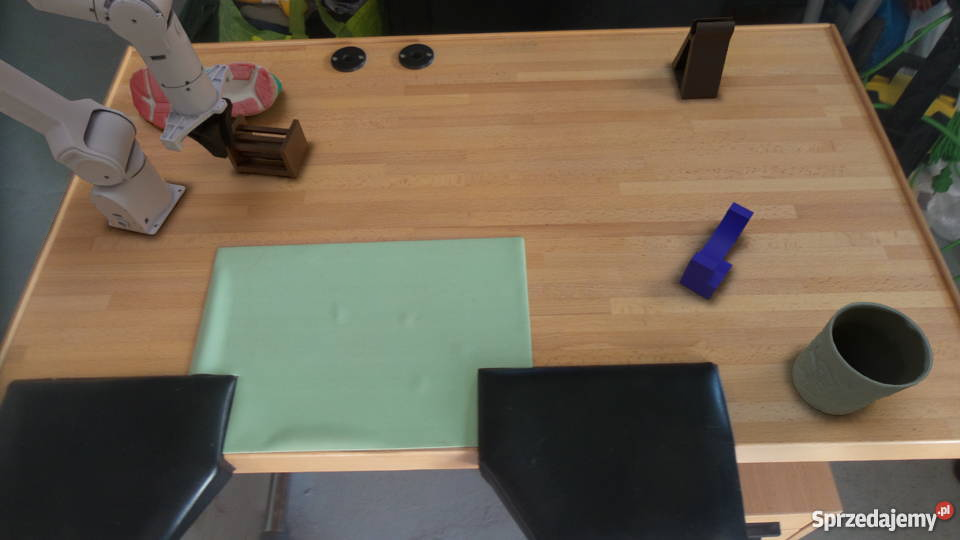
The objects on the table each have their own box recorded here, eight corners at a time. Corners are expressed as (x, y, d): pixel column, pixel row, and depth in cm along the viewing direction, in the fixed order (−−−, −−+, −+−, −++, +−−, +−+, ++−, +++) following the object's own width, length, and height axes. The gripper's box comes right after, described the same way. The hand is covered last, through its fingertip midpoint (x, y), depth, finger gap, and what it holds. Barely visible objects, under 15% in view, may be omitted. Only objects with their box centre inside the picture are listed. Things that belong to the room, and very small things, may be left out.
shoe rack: (295, 178, 91) (283, 151, 86) (236, 172, 92) (221, 145, 87) (309, 146, 94) (298, 119, 89) (252, 141, 95) (238, 113, 90)
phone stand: (671, 65, 103) (690, 3, 93) (704, 64, 103) (727, 2, 93) (681, 99, 98) (702, 38, 88) (716, 98, 98) (741, 37, 88)
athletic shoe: (300, 102, 102) (274, 32, 98) (280, 107, 93) (251, 30, 89) (170, 140, 106) (140, 75, 102) (139, 148, 97) (105, 77, 93)
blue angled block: (708, 300, 77) (723, 277, 72) (679, 282, 79) (691, 258, 74) (748, 243, 82) (764, 217, 77) (719, 227, 83) (733, 201, 78)
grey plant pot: (885, 386, 70) (951, 345, 60) (841, 440, 67) (903, 407, 57) (811, 330, 74) (861, 284, 64) (766, 379, 71) (811, 338, 61)
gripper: (177, 117, 66) (225, 193, 77) (236, 40, 73) (271, 120, 84) (124, 108, 67) (179, 184, 78) (187, 33, 74) (229, 112, 86)
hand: (224, 150), depth 81 cm, fingers closed
